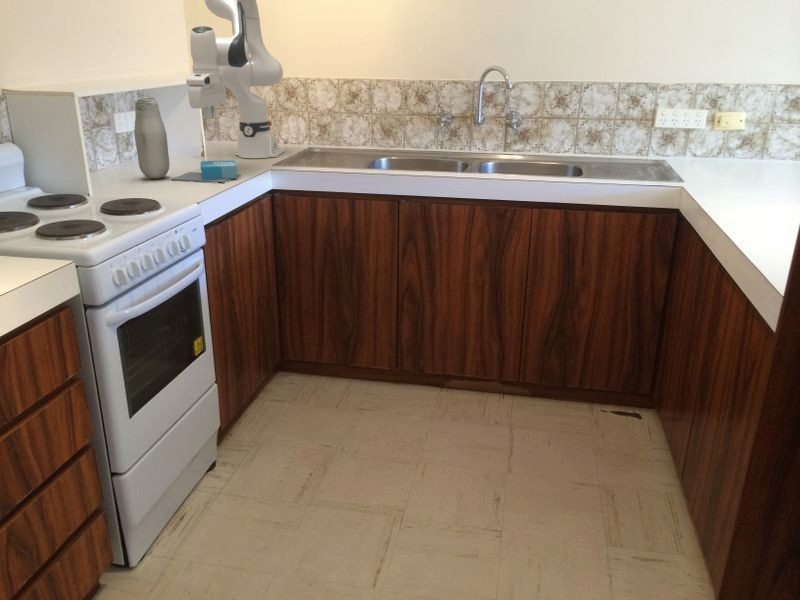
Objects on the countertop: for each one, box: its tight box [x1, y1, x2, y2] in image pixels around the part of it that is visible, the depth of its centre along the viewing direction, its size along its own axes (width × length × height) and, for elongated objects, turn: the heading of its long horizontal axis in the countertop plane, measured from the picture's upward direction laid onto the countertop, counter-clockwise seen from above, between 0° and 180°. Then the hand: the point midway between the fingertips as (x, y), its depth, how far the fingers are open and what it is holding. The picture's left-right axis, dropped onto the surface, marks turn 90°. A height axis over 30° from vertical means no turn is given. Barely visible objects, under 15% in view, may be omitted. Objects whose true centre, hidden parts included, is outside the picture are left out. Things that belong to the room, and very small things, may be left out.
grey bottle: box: [133, 95, 170, 180], centre depth 232 cm, size 10×10×28 cm
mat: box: [170, 171, 241, 184], centre depth 238 cm, size 13×20×1 cm, turn 77°
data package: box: [200, 159, 238, 180], centre depth 238 cm, size 12×4×12 cm
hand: (210, 118), depth 237 cm, fingers closed
